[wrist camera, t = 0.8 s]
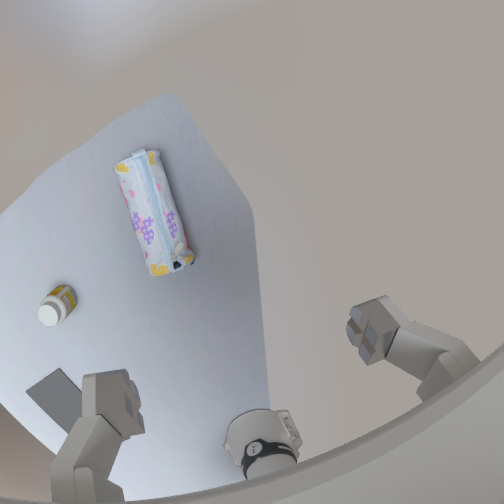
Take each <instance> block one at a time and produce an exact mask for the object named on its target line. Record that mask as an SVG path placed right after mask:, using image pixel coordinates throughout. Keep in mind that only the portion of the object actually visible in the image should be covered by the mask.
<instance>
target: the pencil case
mask: <svg viewBox="0 0 504 504" xmlns="http://www.w3.org/2000/svg"><path fill="white" fill-rule="evenodd" d="M131 155H132V156H131V157H129V158H127V159H125V160H122V161H120V162H118V163H116V164H115V165H114V166H113V171H114V173H115V175H116V178H117V180H118V182H119V185H120V189H121V192H122V194H123V196H124V199H125V201H126V205H127V207H128V210H129V214H130V218H131V221H132V224H133V228H134V230H135V233H136V236H137V239H138V241H139V244H140V245H141V249H142V252H143V255H144V260H145V264H146V269H147V271H148V273H149V274H150V275H151V276H163V275H166V274H169V273H175V272H177V271H179V270H182V269H185V268H184V267H185V266H186V265H188V264H189V263H191V265H192V264H193V263H194V260H195V258H194V257H195V255H194V253H193V252H192V250H191V249H189V248H188V246H187V239H186V236H185V233H184V229H183V225H182V221H181V219H180V216H179V214H178V211H177V209H176V206H175V202H174V199H173V196H172V193H171V190H170V186H169V184H168V180H167V177H166V173H165V170H164V167H163V165H162V162H161V160H160V155H161V152H160V151H159V150H158V149H154V150H150V151H145V150H144V149H143V148H142V149H140V150H137V151H134V152H132V153H131Z"/></svg>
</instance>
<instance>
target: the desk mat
mask: <svg viewBox="0 0 504 504" xmlns="http://www.w3.org/2000/svg"><path fill="white" fill-rule="evenodd" d="M26 393H27V394H28V395H29V396H30V397H31V398H32V399H33V400H34V401H35V402H36V403H37V404H38V405H39V406H40V407H41V408H42V409H43V410H44V411H45V412H46V413H47V414H48V415H49V416H50V417H51V418H52V419H53V420H54V421H55V422H56V423H57V424H58V425H59V426H60V427H61V428H62V429H64V430H65V431H66V432H67V433H68V434H69V433H70V431H71V429H72V428H73V426H74V424H75V423H76V421H77V419H78V417H82V392H81V391H80V390H79V389H78V388H77V386H76V385H75V384H74V383H73V382H72V381H71V380H70V379H69V378H68V377H67V376H66V375H65V374H64V372H63V371H62V370H61V369H60V368H59V369H57V370H56V371H54V372H53V373H51V374H50V375H49V376H47V377H46V378H44V379H43V380H41V381H40V382H39V383H37V384H36V385H34V386H33V387H31V388H30V389H29V390H27V391H26ZM129 438H130V436H126V437H123V441H125V440H127V439H129ZM123 441H122V442H123Z"/></svg>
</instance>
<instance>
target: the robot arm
mask: <svg viewBox="0 0 504 504" xmlns="http://www.w3.org/2000/svg"><path fill="white" fill-rule="evenodd" d="M350 316H351V318H350V320H349V321H348V322H347V326H346V330H347V336H348V338H349V340H350V342H351V343H352V345H354V346H356V347H358V348H359V355H360V356H361V358H362V359H363V361H364V362H365V364H366V365H367V366H369V365H371V364H373V363H376V362H378V361H380V360H383V359H385V358H386V359H385V360H387V361H388V362H390V363H392V364H394V365H395V366H397V367H399V368H401V369H402V370H404V371H406V372H408V373H409V374H411V375H413V376H415V377H416V378H418V379H420V380H422V381H423V382H422V383H421V384H420V386H419V387H418V389H417V394H418V396H419V397H420V399H421V400H422V402H423V403H421V404H420V405H418V406H416V407H415V408H413V409H411V410H410V411H408V412H406V413H405V414H403V415H401V416H399V417H398V418H396V419H394V420H392V421H390V422H389V423H387V424H385V425H383V426H381V427H379V428H377V429H375V430H373V431H372V432H369V433H367V434H365V435H363V436H362V437H359V438H357V439H355V440H353V441H351V442H349V443H347V444H344V445H342V446H340V447H338V448H335V449H333V450H331V451H328V452H326V453H323V454H321V455H319V456H316V457H314V458H311V459H308V460H306V461H303V462H301V463H298V464H297V459H298V457H299V455H300V454H299V452H298V449H299V448H300V446H301V445H302V440H301V438H300V435H299V433H298V431H297V429H296V427H295V425H294V422H293V420H292V418H291V416H290V414H289V412H288V410H279V411H271V410H254V411H250V412H247V413H245V414H242V415H241V416H239V417H238V418H236V419H235V420H234V421H233V422H232V423H231V424H230V426H229V428H228V431H227V440H226V442H225V443H224V448H225V450H227V451H229V452H231V454H232V457H233V459H234V462H235V464H236V465H237V466H239V467H242V471H243V474H244V476H245V478H246V479H247V480H245V481H241V482H237V483H234V484H230V485H226V486H221V487H217V488H213V489H208V490H203V491H199V492H193V493H188V494H182V495H176V496H170V497H163V498H156V499H147V500H138V501H126V502H125V500H124V495H123V490H122V488H121V487H120V486H118V485H116V484H115V483H113V482H111V481H109V480H108V477H109V474H110V471H111V469H112V466H113V464H114V461H115V458H116V456H117V453H118V451H119V448H120V446H121V443H122V441H123V437H126V436H132V435H138V434H143V433H145V429H144V423H143V417H142V415H141V414H140V412H139V411H138V410H139V408H140V407H141V402H140V397H139V393H138V390H137V387H136V385H135V383H134V382H133V381H132V380H129V374H128V372H127V371H126V369H120V370H114V371H107V372H100V373H94V374H87V375H84V376H83V379H82V417H78V419H77V421H76V423H75V424H74V426H73V428H72V429H71V431H70V433H69V435H68V436H67V438H66V440H65V442H64V443H63V445H62V447H61V449H60V450H59V452H58V454H57V456H56V457H55V459H54V461H53V463H52V465H51V467H50V475H51V491H52V501H53V502H40V501H29V500H19V499H13V498H6V497H0V504H504V343H503V344H502V345H501V346H500V347H499V348H497V349H496V350H495V351H494V352H493V353H491V354H490V355H489V356H488V357H486V358H485V359H484V360H483V361H481V362H480V361H479V359H478V358H477V357H476V356H475V355H474V354H473V352H472V351H471V350H470V349H469V348H468V346H467V345H466V344H465V343H464V342H463V341H462V340H460V339H458V338H455V337H453V336H450V335H448V334H445V333H443V332H440V331H438V330H435V329H433V328H431V327H428V326H426V325H423V324H421V323H418V322H416V321H413V322H411V321H410V320H409V319H408V317H406V315H405V314H404V313H403V312H402V311H401V310H400V309H399V307H398V306H397V305H396V304H395V303H394V302H393V301H392V300H391V299H390V298H389V296H387V295H384V296H381V297H378V298H376V299H372V300H369V301H367V302H364V303H361V304H359V305H356V306H353V307H352V308H351V309H350ZM285 417H286V418H285Z"/></svg>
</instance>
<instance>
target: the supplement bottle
mask: <svg viewBox="0 0 504 504" xmlns="http://www.w3.org/2000/svg"><path fill="white" fill-rule="evenodd" d="M76 303H77V297H76V294H75V292H74V291H73V290H72V289H71V288H70V287H68V286H65V285H61V286H58V287H57V288H55V289H54V290H53V291H52V292H51V293H49V294H48V295H47V296H46V297H45V298H44V299H43V300H42V302H41V306H40V308H39V310H38V317H39V319H40V321H41V322H42V323H43V324H44V325H45V326H48V327H53V326H55V325H56V324H60V323H62V322H63V321H64V320H65V319H66V318H67V316H68V315H69V314H70V313H71V312H72V310H73V309H74V308H75V306H76Z"/></svg>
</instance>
